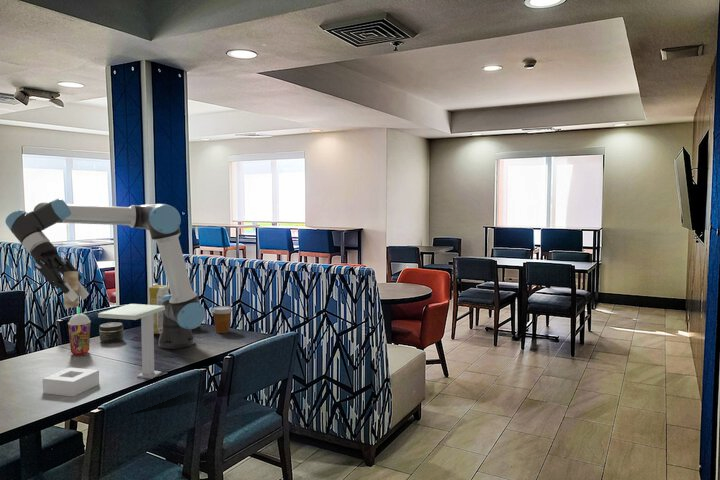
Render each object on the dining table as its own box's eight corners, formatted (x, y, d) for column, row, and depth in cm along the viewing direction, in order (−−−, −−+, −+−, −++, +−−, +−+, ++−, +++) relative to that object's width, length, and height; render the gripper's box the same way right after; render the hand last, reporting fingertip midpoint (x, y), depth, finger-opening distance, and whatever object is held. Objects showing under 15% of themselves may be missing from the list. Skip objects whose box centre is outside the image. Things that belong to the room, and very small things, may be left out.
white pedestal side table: (99, 380, 186) (98, 313, 185) (131, 364, 204) (130, 303, 202) (141, 384, 183) (140, 316, 181) (170, 368, 200) (169, 306, 199)
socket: (70, 381, 185) (69, 367, 185) (99, 384, 183) (98, 370, 182) (42, 393, 173) (42, 378, 173) (73, 396, 171) (73, 381, 170)
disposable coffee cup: (214, 335, 251) (214, 310, 250) (210, 330, 259) (210, 306, 258) (234, 332, 255) (234, 309, 254) (229, 328, 264) (229, 305, 263)
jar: (116, 344, 233) (116, 327, 233) (95, 343, 233) (94, 327, 233) (127, 338, 243) (127, 322, 242) (106, 337, 243) (105, 321, 243)
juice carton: (156, 329, 260) (155, 282, 258) (171, 330, 259) (170, 282, 257) (146, 333, 251) (145, 285, 249) (161, 334, 250) (160, 285, 248)
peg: (78, 304, 183) (77, 270, 182) (78, 306, 179) (78, 272, 178) (63, 305, 181) (63, 271, 180) (64, 307, 177) (63, 273, 176)
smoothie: (81, 357, 212) (80, 309, 211) (64, 356, 214) (62, 308, 212) (95, 352, 220) (94, 305, 219) (78, 350, 222) (77, 304, 221)
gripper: (54, 253, 191) (92, 300, 188) (12, 257, 174) (54, 309, 171) (66, 239, 189) (105, 287, 186) (25, 242, 172) (67, 294, 169)
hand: (80, 297), depth 179 cm, fingers closed on peg, 4 cm apart
